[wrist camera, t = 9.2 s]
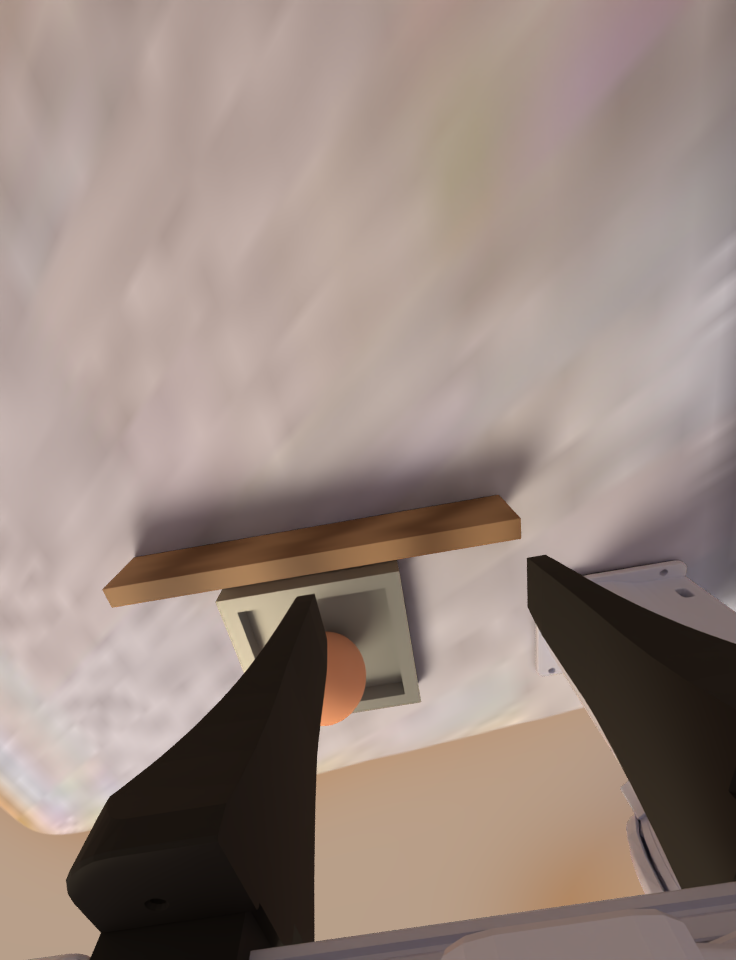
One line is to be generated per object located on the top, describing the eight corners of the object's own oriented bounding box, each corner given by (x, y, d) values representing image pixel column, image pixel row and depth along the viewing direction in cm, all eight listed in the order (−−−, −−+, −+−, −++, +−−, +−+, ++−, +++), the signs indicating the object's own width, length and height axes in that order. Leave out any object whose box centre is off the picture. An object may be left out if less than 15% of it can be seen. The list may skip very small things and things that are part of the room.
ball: (357, 608, 24) (358, 674, 19) (370, 665, 25) (374, 739, 21) (281, 621, 24) (264, 690, 19) (299, 677, 25) (287, 753, 21)
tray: (396, 557, 23) (399, 571, 21) (417, 684, 27) (421, 702, 25) (223, 587, 23) (215, 602, 22) (270, 708, 27) (265, 726, 26)
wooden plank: (498, 494, 21) (520, 518, 19) (499, 512, 22) (521, 538, 19) (133, 557, 22) (102, 589, 19) (141, 574, 22) (112, 607, 20)
